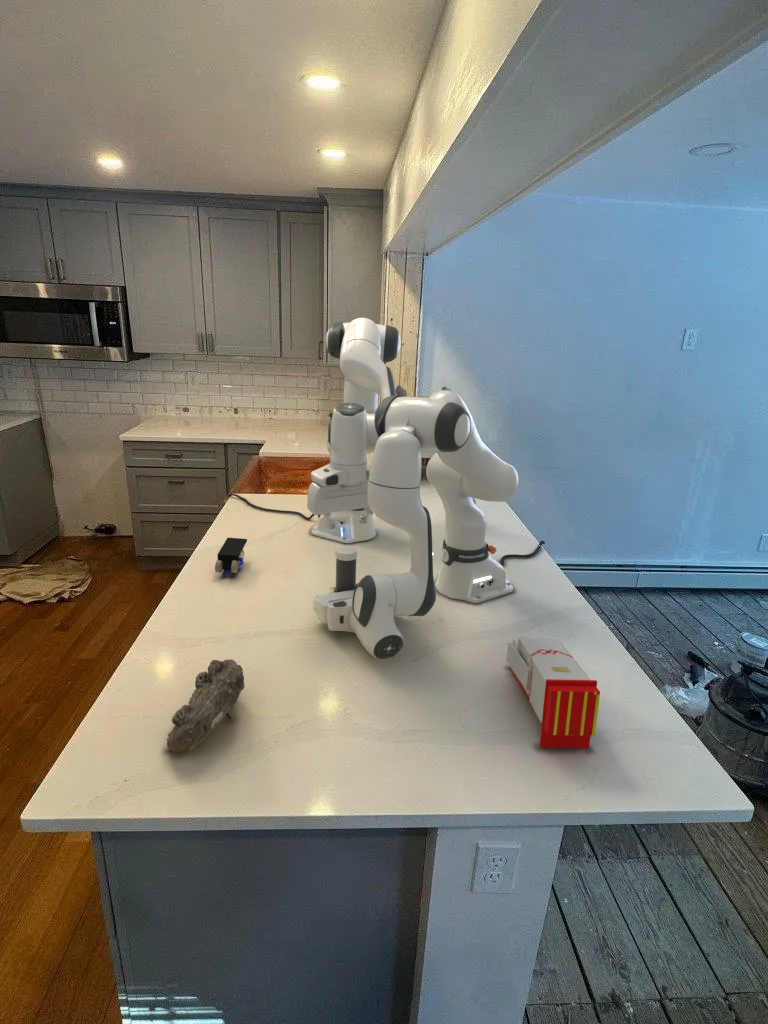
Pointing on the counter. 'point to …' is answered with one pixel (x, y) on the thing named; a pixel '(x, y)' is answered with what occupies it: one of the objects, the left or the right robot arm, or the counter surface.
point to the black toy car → (230, 556)
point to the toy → (555, 691)
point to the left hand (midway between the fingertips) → (347, 525)
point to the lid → (346, 553)
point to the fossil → (206, 705)
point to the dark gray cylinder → (345, 575)
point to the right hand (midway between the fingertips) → (344, 587)
